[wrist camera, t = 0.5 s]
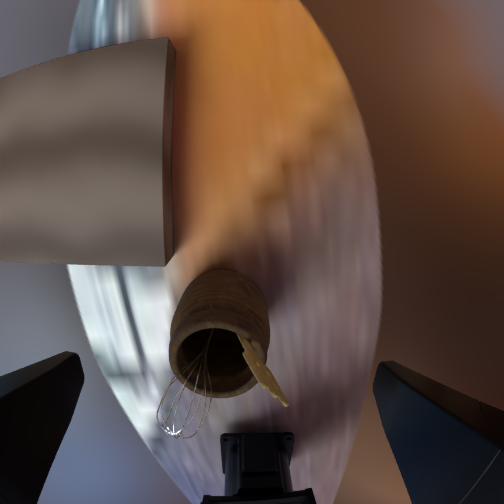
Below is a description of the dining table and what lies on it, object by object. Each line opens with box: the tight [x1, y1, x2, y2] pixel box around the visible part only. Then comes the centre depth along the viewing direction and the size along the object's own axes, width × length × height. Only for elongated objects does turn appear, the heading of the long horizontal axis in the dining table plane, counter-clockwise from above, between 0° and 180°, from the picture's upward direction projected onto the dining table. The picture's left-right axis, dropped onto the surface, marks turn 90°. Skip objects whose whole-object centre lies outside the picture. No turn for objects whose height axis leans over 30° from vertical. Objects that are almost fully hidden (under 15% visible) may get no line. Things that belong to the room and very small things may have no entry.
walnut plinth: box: [0, 37, 176, 267], centre depth 18 cm, size 14×14×2 cm
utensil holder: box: [157, 270, 289, 438], centre depth 16 cm, size 6×6×12 cm
